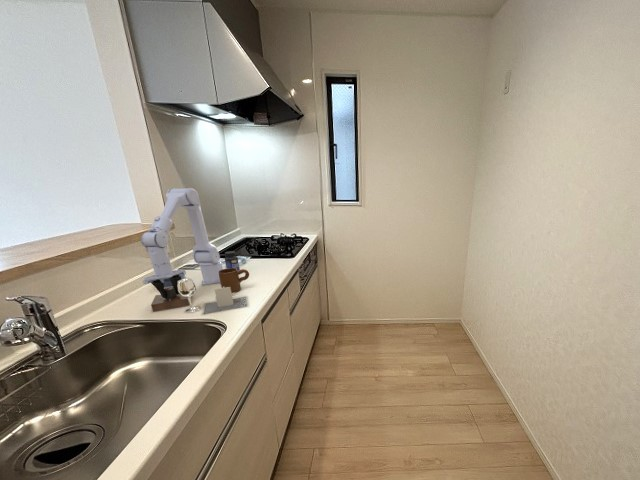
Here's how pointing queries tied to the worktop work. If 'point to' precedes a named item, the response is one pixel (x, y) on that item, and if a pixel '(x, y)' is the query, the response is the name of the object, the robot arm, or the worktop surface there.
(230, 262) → the pill bottle
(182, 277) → the button box
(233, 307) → the architectural model
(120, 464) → the worktop surface
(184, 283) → the wineglass
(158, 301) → the panel
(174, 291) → the knob
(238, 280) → the mug
